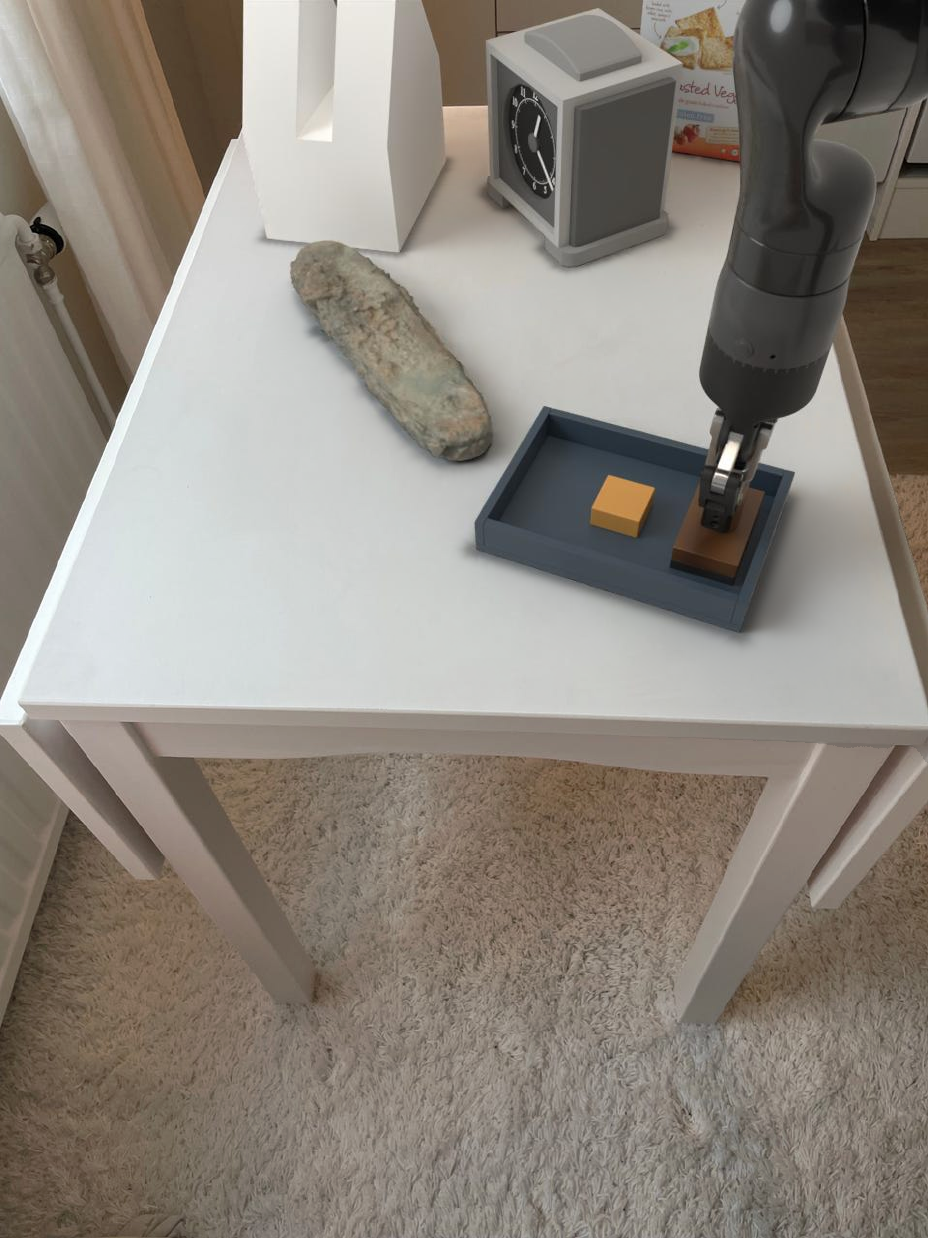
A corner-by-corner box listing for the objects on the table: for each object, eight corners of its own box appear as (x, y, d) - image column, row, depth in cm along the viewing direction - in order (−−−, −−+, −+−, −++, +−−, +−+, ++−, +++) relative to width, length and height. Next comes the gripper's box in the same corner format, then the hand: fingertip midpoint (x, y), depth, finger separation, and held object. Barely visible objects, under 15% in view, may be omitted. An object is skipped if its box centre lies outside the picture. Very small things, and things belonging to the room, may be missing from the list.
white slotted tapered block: (325, 150, 117) (283, -95, 96) (446, 160, 114) (429, -89, 94) (267, 238, 106) (207, -17, 86) (399, 252, 103) (369, -8, 83)
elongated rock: (422, 495, 83) (520, 456, 86) (422, 451, 79) (525, 412, 82) (268, 276, 100) (354, 250, 103) (260, 230, 96) (350, 205, 99)
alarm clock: (483, 189, 109) (476, 13, 95) (581, 157, 113) (590, -19, 98) (566, 269, 99) (573, 86, 85) (671, 231, 102) (696, 48, 88)
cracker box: (627, 148, 113) (645, -57, 96) (641, 123, 117) (661, -79, 100) (745, 165, 110) (786, -44, 93) (756, 140, 113) (797, -67, 96)
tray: (786, 500, 79) (795, 471, 76) (739, 632, 71) (747, 606, 68) (543, 433, 85) (543, 405, 82) (475, 549, 77) (473, 521, 75)
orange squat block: (652, 504, 78) (655, 487, 77) (637, 538, 76) (639, 521, 74) (606, 491, 79) (608, 474, 78) (589, 524, 77) (591, 507, 76)
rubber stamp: (759, 512, 77) (781, 435, 70) (732, 586, 73) (753, 512, 66) (698, 496, 78) (714, 418, 71) (669, 567, 74) (682, 492, 67)
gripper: (804, 414, 54) (744, 594, 68) (859, 272, 61) (794, 462, 75) (676, 380, 56) (644, 561, 70) (743, 246, 63) (701, 435, 77)
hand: (722, 509), depth 73 cm, fingers closed on rubber stamp, 3 cm apart
